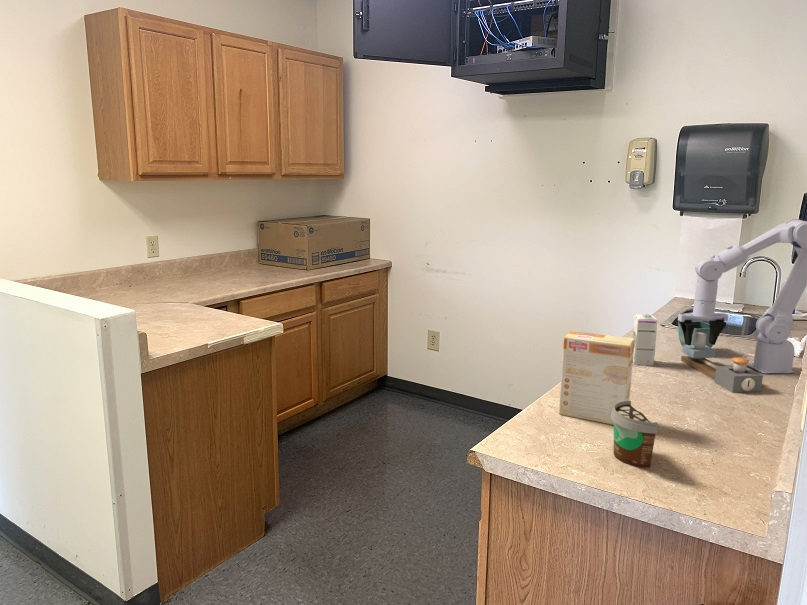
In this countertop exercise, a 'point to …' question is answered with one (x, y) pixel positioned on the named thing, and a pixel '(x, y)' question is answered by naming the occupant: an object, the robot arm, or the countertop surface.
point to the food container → (633, 435)
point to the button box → (738, 379)
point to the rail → (701, 365)
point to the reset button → (739, 365)
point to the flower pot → (699, 328)
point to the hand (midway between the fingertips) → (699, 344)
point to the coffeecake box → (595, 375)
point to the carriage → (699, 348)
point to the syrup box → (644, 339)
